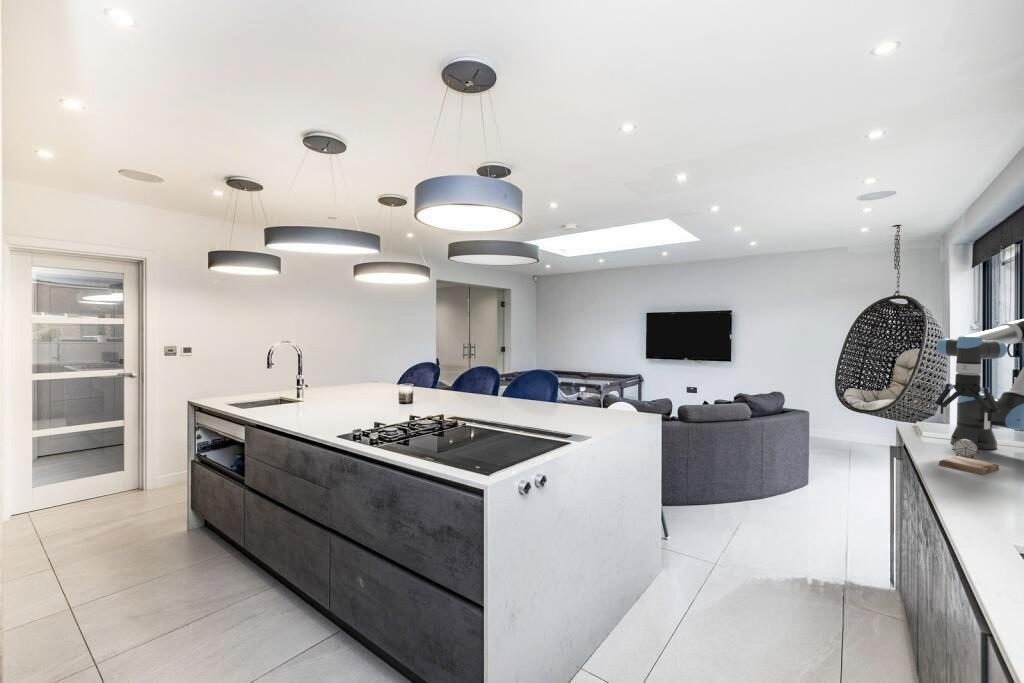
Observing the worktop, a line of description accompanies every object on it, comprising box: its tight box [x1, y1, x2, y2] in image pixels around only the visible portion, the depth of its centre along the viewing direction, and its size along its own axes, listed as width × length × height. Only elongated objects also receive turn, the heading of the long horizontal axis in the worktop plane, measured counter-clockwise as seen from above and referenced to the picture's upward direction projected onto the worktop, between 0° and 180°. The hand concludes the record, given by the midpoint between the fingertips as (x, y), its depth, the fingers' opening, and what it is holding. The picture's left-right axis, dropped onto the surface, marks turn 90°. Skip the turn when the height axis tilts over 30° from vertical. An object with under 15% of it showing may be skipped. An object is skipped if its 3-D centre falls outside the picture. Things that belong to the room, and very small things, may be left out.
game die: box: [951, 437, 980, 459], centre depth 204 cm, size 9×8×10 cm
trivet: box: [938, 455, 1000, 475], centre depth 192 cm, size 13×13×2 cm
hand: (965, 425), depth 203 cm, fingers open, 13 cm apart
